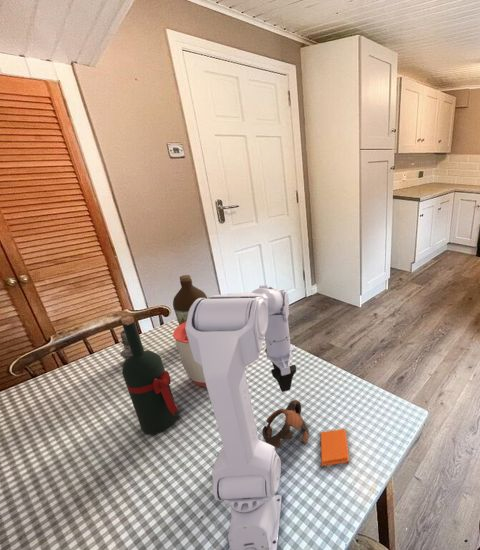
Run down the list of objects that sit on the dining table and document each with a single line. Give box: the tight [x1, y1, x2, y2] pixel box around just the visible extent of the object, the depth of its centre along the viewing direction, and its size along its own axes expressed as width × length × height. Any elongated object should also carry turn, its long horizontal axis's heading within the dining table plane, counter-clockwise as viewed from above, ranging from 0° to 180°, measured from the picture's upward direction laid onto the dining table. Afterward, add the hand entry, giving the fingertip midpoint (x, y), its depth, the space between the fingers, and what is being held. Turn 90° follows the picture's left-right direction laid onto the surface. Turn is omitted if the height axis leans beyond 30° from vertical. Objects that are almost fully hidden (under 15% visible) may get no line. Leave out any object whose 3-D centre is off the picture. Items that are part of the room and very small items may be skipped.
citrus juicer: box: [172, 322, 207, 387], centre depth 90 cm, size 16×17×20 cm
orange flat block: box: [320, 428, 350, 467], centre depth 70 cm, size 8×6×1 cm
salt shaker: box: [119, 328, 132, 362], centre depth 98 cm, size 6×6×12 cm
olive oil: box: [172, 274, 209, 326], centre depth 106 cm, size 11×11×25 cm
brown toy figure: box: [261, 399, 310, 449], centre depth 73 cm, size 12×10×8 cm
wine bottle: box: [120, 315, 180, 436], centre depth 71 cm, size 8×10×30 cm
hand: (282, 380), depth 78 cm, fingers open, 7 cm apart
